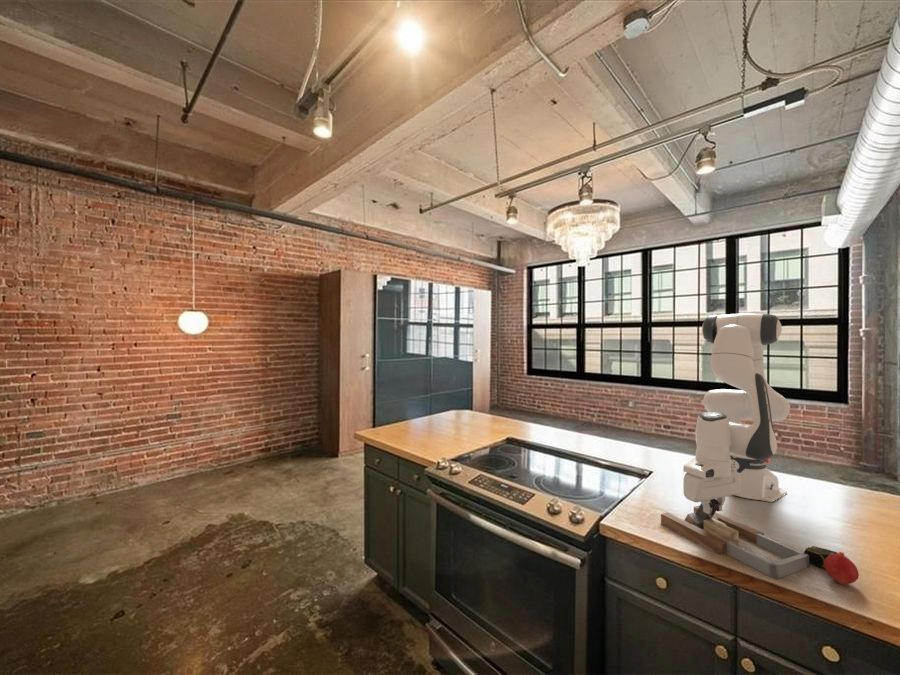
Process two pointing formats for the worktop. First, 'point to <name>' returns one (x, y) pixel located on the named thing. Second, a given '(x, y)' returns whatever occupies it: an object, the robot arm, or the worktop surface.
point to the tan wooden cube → (711, 525)
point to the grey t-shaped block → (702, 514)
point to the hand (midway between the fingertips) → (712, 511)
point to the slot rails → (706, 537)
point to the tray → (773, 569)
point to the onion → (841, 568)
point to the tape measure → (818, 555)
